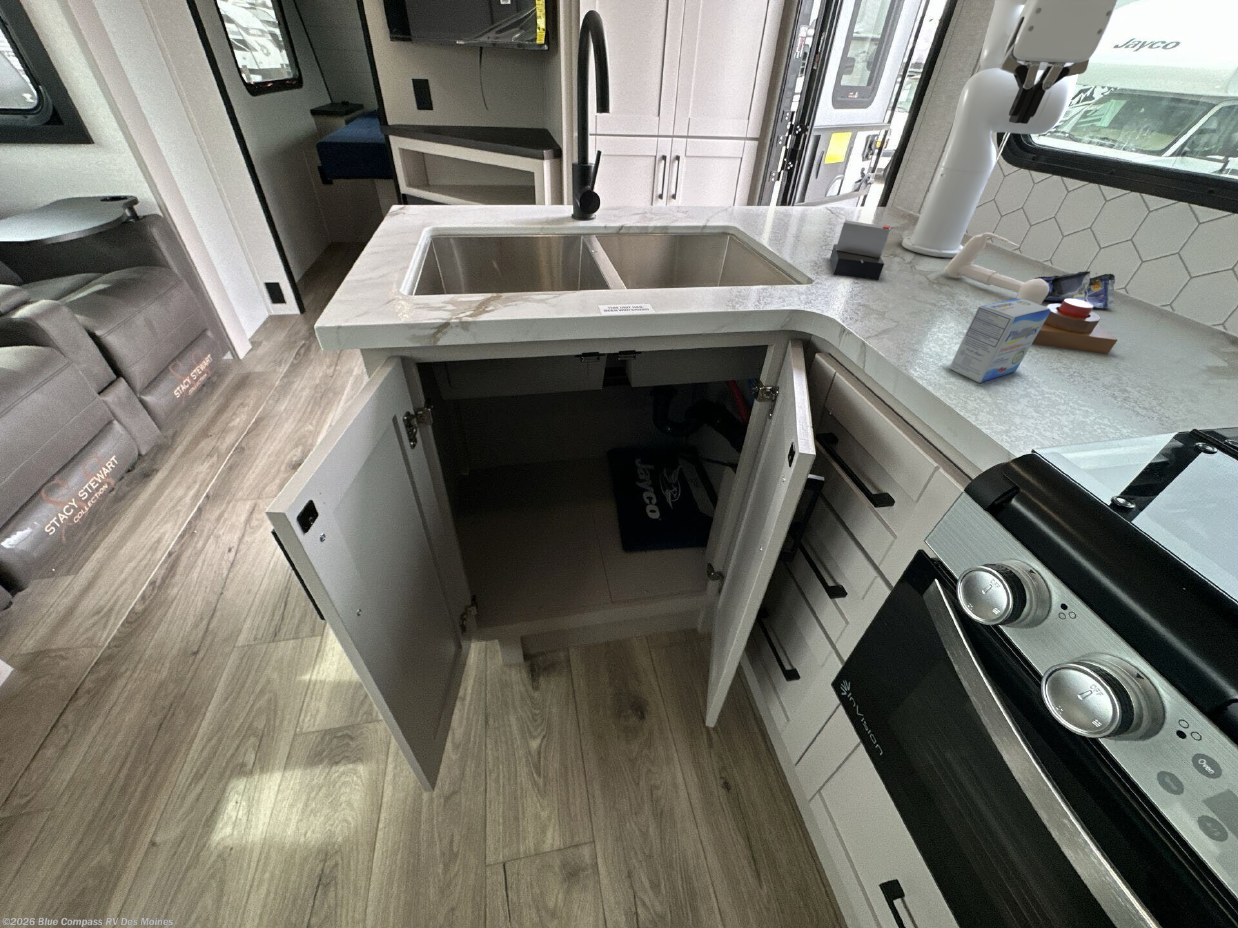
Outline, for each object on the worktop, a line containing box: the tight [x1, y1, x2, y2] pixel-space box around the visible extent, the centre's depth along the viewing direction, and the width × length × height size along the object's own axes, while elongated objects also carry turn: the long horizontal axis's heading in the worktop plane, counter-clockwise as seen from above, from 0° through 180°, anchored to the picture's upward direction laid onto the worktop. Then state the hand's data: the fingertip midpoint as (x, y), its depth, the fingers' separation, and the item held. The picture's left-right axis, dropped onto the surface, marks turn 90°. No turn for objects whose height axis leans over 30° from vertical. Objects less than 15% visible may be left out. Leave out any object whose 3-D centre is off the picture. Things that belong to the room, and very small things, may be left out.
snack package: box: [1034, 270, 1116, 310], centre depth 89 cm, size 12×6×12 cm
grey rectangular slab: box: [836, 219, 892, 258], centre depth 95 cm, size 8×2×5 cm, turn 61°
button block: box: [1031, 303, 1118, 355], centre depth 75 cm, size 8×10×4 cm
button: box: [1058, 299, 1094, 318], centre depth 74 cm, size 4×4×2 cm
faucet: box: [944, 231, 1049, 305], centre depth 90 cm, size 4×18×10 cm, turn 25°
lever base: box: [824, 243, 893, 281], centre depth 98 cm, size 12×12×3 cm
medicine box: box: [948, 297, 1051, 384], centre depth 64 cm, size 8×4×9 cm, turn 118°
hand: (1017, 122), depth 76 cm, fingers closed
